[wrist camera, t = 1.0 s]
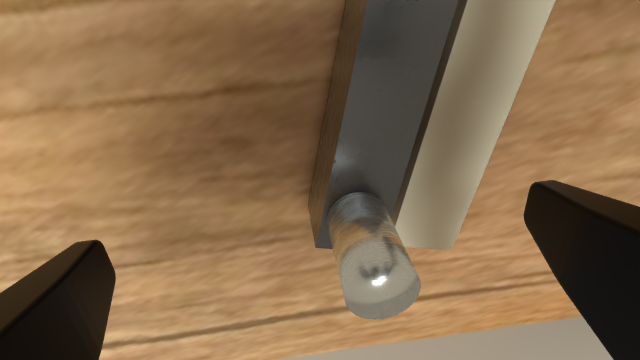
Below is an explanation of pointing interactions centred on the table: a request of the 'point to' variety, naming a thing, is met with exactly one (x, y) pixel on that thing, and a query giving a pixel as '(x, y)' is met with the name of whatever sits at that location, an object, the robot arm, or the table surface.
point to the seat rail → (465, 115)
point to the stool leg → (374, 145)
